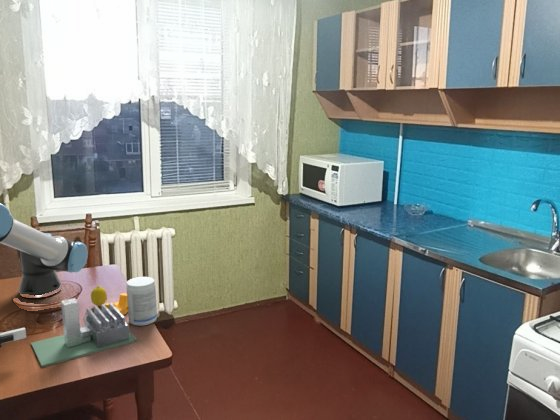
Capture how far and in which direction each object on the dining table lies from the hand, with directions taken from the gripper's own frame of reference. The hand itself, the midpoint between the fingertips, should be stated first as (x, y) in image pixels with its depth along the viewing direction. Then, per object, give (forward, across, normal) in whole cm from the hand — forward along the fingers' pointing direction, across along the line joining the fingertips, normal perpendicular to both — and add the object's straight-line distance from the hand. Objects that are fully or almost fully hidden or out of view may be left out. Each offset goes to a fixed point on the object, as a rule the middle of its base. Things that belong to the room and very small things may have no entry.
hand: (25, 332), depth 144 cm
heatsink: (+22, 0, -8) cm, 23 cm away
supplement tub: (+37, -5, -9) cm, 39 cm away
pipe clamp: (+30, -13, -8) cm, 34 cm away
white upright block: (+14, 0, -7) cm, 16 cm away
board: (+16, 0, -8) cm, 18 cm away
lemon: (+28, -25, -9) cm, 39 cm away
